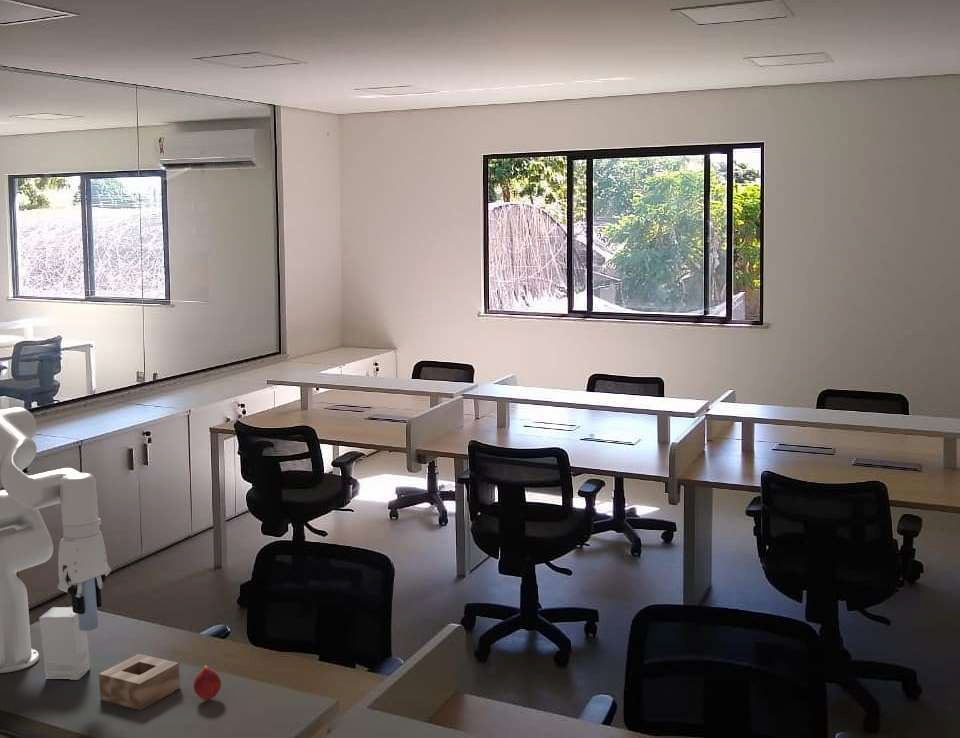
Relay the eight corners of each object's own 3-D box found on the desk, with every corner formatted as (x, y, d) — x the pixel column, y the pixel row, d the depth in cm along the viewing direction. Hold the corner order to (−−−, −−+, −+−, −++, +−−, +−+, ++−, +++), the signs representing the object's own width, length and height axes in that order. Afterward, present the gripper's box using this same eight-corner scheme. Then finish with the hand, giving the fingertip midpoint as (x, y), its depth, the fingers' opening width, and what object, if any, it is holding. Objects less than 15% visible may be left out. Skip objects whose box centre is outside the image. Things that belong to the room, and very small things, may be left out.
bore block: (100, 699, 230) (98, 673, 230) (140, 678, 241) (139, 653, 240) (140, 710, 225) (139, 683, 224) (180, 688, 236) (178, 662, 235)
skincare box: (91, 669, 246) (87, 606, 244) (77, 681, 240) (73, 617, 238) (57, 668, 247) (52, 605, 245) (43, 680, 241) (38, 616, 238)
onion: (227, 697, 231) (225, 663, 230) (210, 708, 226) (208, 673, 225) (206, 692, 233) (204, 658, 232) (189, 703, 228) (187, 668, 227)
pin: (75, 629, 231) (70, 568, 229) (89, 623, 235) (84, 563, 233) (88, 631, 229) (83, 570, 227) (102, 625, 233) (97, 565, 231)
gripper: (98, 518, 238) (104, 595, 240) (37, 537, 223) (44, 619, 226) (122, 521, 235) (128, 599, 237) (62, 541, 220) (68, 624, 222)
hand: (87, 608), depth 231 cm, fingers closed on pin, 4 cm apart
